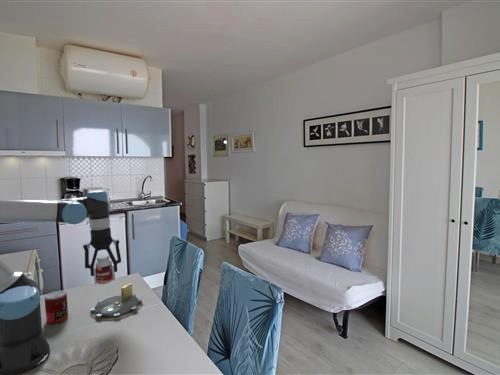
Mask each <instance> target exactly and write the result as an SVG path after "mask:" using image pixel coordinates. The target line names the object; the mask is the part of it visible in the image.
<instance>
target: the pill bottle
mask: <svg viewBox="0 0 500 375" xmlns="http://www.w3.org/2000/svg"><path fill="white" fill-rule="evenodd" d="M112 264H113V262H112V260H111V259H110V256H109V254H103V255H99V256H98V255H97V256H96V262H95V264H94V267H96V278H97V284H98V285H107V284H110V283H112V282H113V274H112Z"/></svg>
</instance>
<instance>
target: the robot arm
mask: <svg viewBox="0 0 500 375" xmlns="http://www.w3.org/2000/svg"><path fill="white" fill-rule="evenodd" d="M87 216H88V219H89V220H88V222H89V229H90V231H89V232H90V233H89V234H90V242H88V243H84V244H83V246H82V247H83V248H82V249H83V250H84V269H89V270H90V276H91V277H94V278H93V279H94V285H97V284H98V283H97V278H96V266H95V265H96V261H97V257H98V252H100V251H102V250H103V251H105V250H106V252H107V255H109V259H110V261H111V262H112V274H113V280H112V282H113V281H116V272H118V264H120V263H122V256H121V251H120V246H119V245H120V239H119V238H117V239H114V238H113V237H112V230H111V221H110V209H109V199H108V193H107V192H106V191H105V190H93V191H88V192H87V193H86V196H84V197H75V198H74V197H73V198H61V199H55V200H30V199H25V200H24V199H0V224H22V223H23V224H25V223H26V224H34V223H35V224H36V223H37V224H41V223H42V224H43V223H45V224H47V223H50V224H51V223H52V224H53V223H55V224H56V223H58V224H59V223H60V224H69V225H77V224H81V223H83V222H84V221H85V220H86V218H87ZM112 243H113V245H114V247H115V253H116V257H115V255H114V253H113V251H112V249H111V247H110V246H112ZM90 247H92V248H93V249H94V253H93V256H92V260H91V264H90ZM116 258H117V259H116ZM41 312H42V311H41V289H40V286H39V285H38V283H37V282H36V281H35V280H34V279H32V278H30V277H29V278H28V277H27V276H26V274H24V272H22V271H15V270H13V269H12V268H11V267H10V266H9V265H8V264H7V263H6V262H5V261H4V260H3V258H1V257H0V375H21V374H23V373H27V372H28V371H31V370H32V369H35V368H36V367H37V366H36V365H37V364H38V363H39V362H40V361H41V360H42V359H43V358H44V356H46V355H47V354H49V353H50V354H51V350H50V344H49V342H48V340H47V338H46V336H45V335H44V332H43V327H42V325H43V324H42V313H41ZM50 354H49V355H50ZM35 366H36V367H35ZM34 367H35V368H34Z"/></svg>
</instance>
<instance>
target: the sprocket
mask: <svg viewBox="0 0 500 375" xmlns="http://www.w3.org/2000/svg"><path fill="white" fill-rule="evenodd" d="M120 289H121V291H120V293H121V295H120V294H115V295H114V296H111V297H107V298H105V299H100V300H98V301H97V304H96V305H95V306H94V307H91V308H90V314H91V313H94V312H95V314H96V318H98V319H100V318H102V317H104V318H109V317H114V318H119V317H120V316H121V315H124V314H127V313H129V312H131V311H132V312H134V311H136V310H137V306H138V304H139V303H142V304H143V299H142V298H138V297H137V296H136V294H134V293H133V283H132V282H131V283H130V282H129V283H128V284H126V285H124V286H122V287H120ZM136 312H137V311H136Z"/></svg>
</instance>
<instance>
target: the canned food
mask: <svg viewBox="0 0 500 375" xmlns="http://www.w3.org/2000/svg"><path fill="white" fill-rule="evenodd" d="M67 295H68V294H67V291H66V290H55V291H52V292H49V293H47V294H45V296H44V308H45V309H44V310H45V321H46V323H47V324H50V325H55V324H59V323H62V322H64V321H65V320H67V319H68V316H69V311H68V310H69V309H68V296H67Z"/></svg>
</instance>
